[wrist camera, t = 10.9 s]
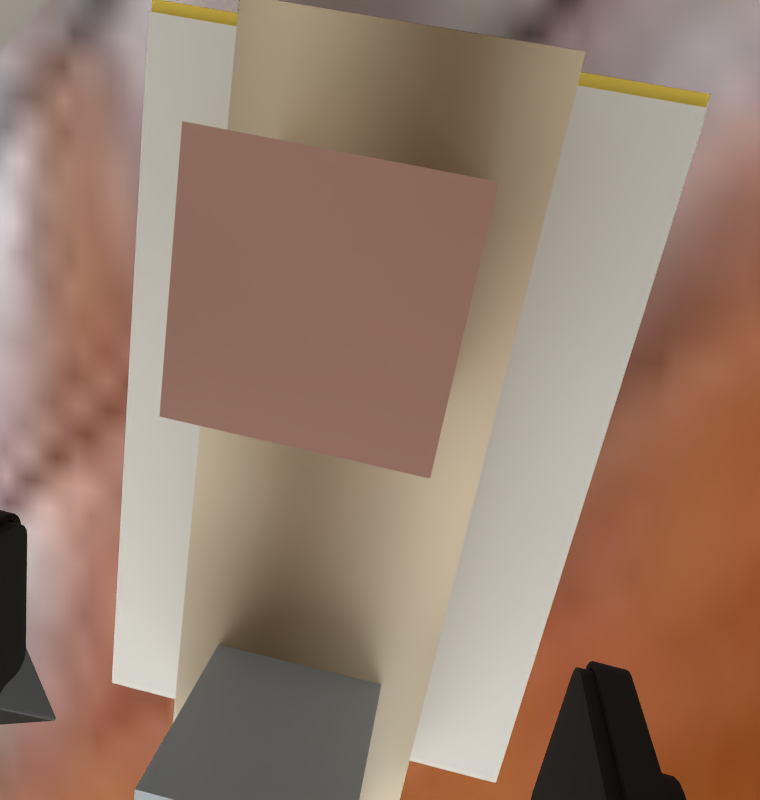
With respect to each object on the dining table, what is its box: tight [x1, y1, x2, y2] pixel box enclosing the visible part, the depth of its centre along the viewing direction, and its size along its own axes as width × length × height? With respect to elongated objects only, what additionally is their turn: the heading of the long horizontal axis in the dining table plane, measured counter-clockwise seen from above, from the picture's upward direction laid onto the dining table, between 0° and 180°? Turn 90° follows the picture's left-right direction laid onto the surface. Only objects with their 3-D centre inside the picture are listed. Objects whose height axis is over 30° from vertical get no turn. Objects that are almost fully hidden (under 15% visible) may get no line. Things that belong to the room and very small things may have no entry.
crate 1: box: [159, 121, 498, 479], centre depth 10 cm, size 4×4×4 cm
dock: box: [112, 0, 710, 783], centre depth 20 cm, size 13×20×5 cm, turn 170°
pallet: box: [173, 0, 586, 800], centre depth 16 cm, size 6×20×4 cm, turn 170°
